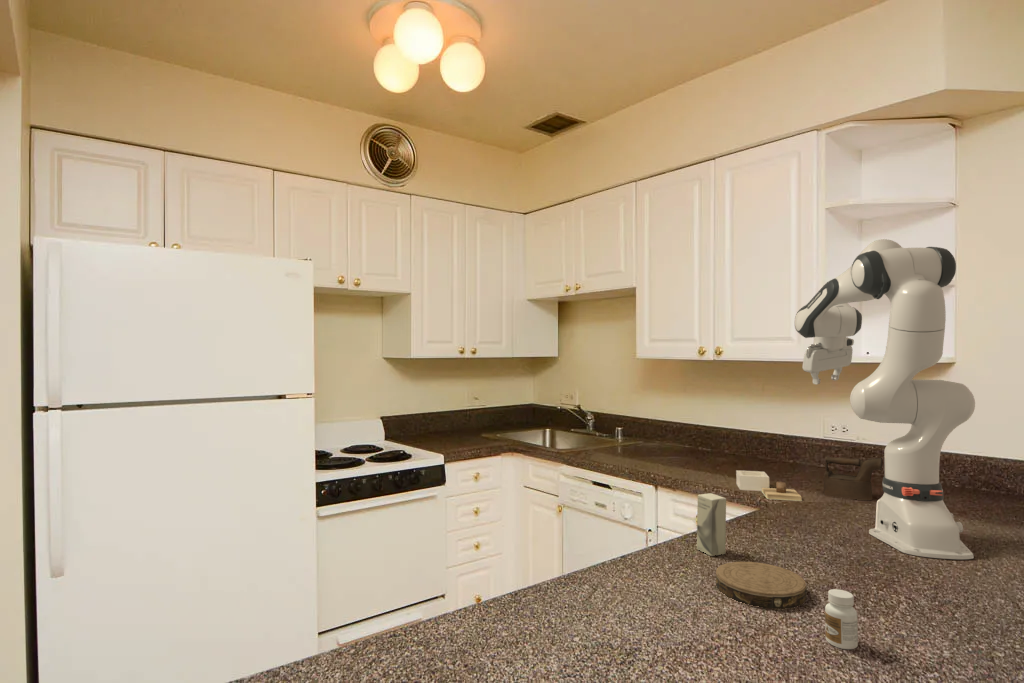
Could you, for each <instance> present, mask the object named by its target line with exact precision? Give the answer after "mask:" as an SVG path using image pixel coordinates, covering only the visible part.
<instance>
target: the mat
mask: <svg viewBox="0 0 1024 683" xmlns="http://www.w3.org/2000/svg"><path fill="white" fill-rule="evenodd" d="M761 493H762V494H763V496H764V497H765V498H766V499H767V500H769V499H768V498H767V497H766V496H765V494H764V493H763V492H762V491H761ZM776 500H777V501H778V500H781V501H783V500H782V499H776ZM793 501H796V502H801V501H800V500H793Z"/></svg>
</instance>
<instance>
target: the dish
mask: <svg viewBox="0 0 1024 683" xmlns="http://www.w3.org/2000/svg"><path fill="white" fill-rule="evenodd" d="M735 475H736V477H735V478H736V486H737V488H738V489H739V491H756V492H762V488H770V476H769V475H768V474H767V473H766V472H765V471H758V470H737V469H736V470H735Z"/></svg>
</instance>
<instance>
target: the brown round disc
mask: <svg viewBox="0 0 1024 683" xmlns="http://www.w3.org/2000/svg"><path fill="white" fill-rule="evenodd" d="M716 586H717V588H718V589H719V591H720V592H722V593H723V594H725V595H726V596H727V597H729V598H732V599H734V600H736V601H738V602H742V603H745V604H749V605H753V606H759V607H763V608H762V609H765V608H767V609H766V610H782V609H783V610H786V609H785V608H791V609H795V608H794V607H796V608H798V607H797V606H799V607H800V605H801V606H803V605H804V604H805V603H806V602H807V585H806V581H805V579H804V578H802V576H801V575H799V574H797V573H796V572H794V571H791V570H790V569H786V568H784V567H780V566H778V565H773V564H768V563H765V562H763V563H762V562H756V561H734V562H733V561H732V562H731V561H730V562H727V563H723V564H721V565H719V566H718V567H717V568H716V570H715V587H716ZM717 588H716V589H717ZM718 589H717V590H718ZM719 591H718V592H719ZM720 592H719V593H720ZM723 594H722V595H723ZM726 596H725V597H726ZM727 597H726V598H727ZM729 598H728V599H729ZM732 599H731V600H732ZM734 600H733V601H734ZM736 601H735V602H736ZM738 602H737V603H738ZM804 602H805V603H804ZM742 603H741V604H742ZM803 603H804V604H803ZM745 604H744V605H745ZM802 604H803V605H802ZM749 605H748V606H749Z"/></svg>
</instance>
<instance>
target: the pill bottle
mask: <svg viewBox="0 0 1024 683" xmlns="http://www.w3.org/2000/svg"><path fill="white" fill-rule="evenodd" d="M827 596H828V598H827V599H828V603H827V604H826V605H825V607H824V612H825V613H824V615H825V616H824V623H825V625H824V628H825V630H824V631H825V640H826V641H827V643H828V644H830V645H832V646H834V647H836V648H838V649H842V650H853V649H856V648H857V647H858V645H859V641H858V640H859V638H858V637H859V635H858V634H859V632H858V628H859V627H858V612H857V610H856V609H855V608H854V607H853V606H854V603H855V600H854V599H855V598H854V594H852V593H851V592H849V591H846V590H843V589H834V588H832V589H829V590H828V592H827Z"/></svg>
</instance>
